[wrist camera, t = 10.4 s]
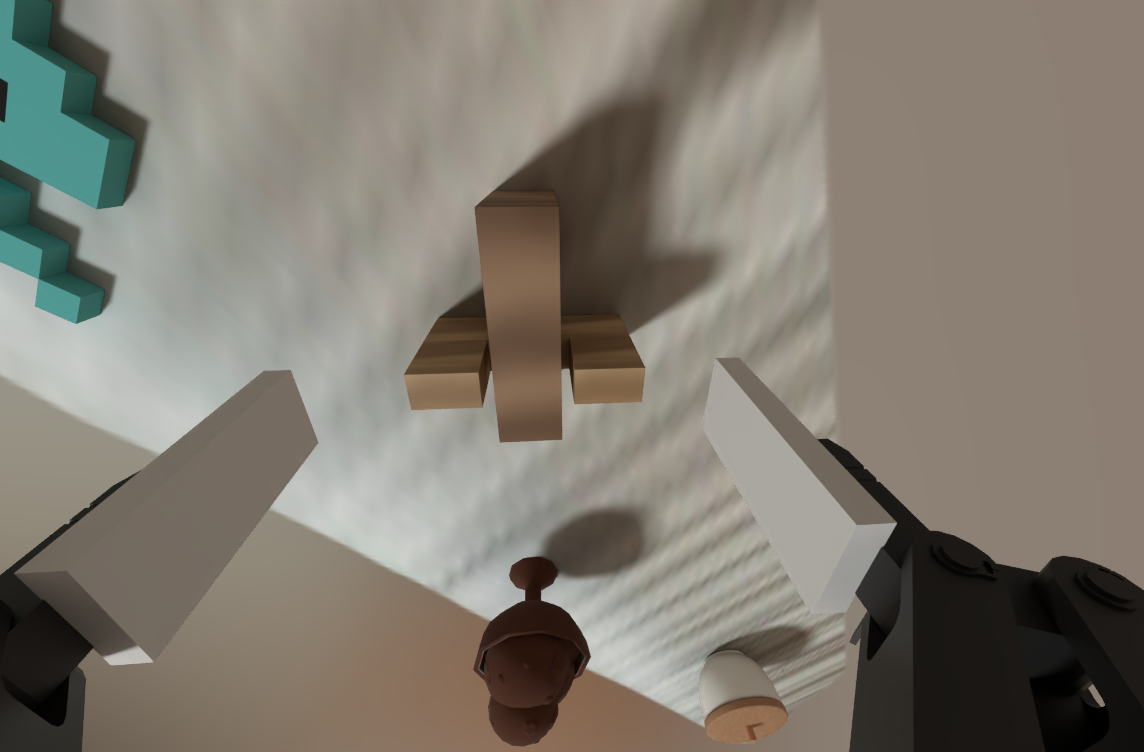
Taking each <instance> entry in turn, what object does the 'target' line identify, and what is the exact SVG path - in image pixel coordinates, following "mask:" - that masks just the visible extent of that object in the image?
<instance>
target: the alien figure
mask: <svg viewBox="0 0 1144 752" xmlns="http://www.w3.org/2000/svg"><path fill="white" fill-rule="evenodd" d="M52 7H53V3H51V2H50V1H48V0H0V160H2V161H4V162H6V163H8V164H10V165H11V166H13V167H15V168H17V169H19V170H21V171H23V172H25V173H27V174H29V175H31V176H33V177H35V178H37V179H39V180H41V181H43V182H45V183H47V184H49V185H50V186H52V187H54V188H56V189H58V190H60V191H62V192H64V193H66V194H68V195H70V196H72V197H74V198H76V199H78V200H80V201H82V202H84V203H86V204H88V205H90V206H91V207H93V208H95V209H102V208H110V207H117V206H123V201H124V196H125V191H126V186H127V181H128V176H129V172H130V167H131V162H132V157H133V152H134V147H135V142H136V140H134V139H132V138H131V137H129V136H127V135H126V134H124V133H122V132H120V131H119V130H117V129H115V128H113V127H112V126H110V125H108V124H106V123H105V122H103V121H101V120H99V119H98V118H96V117H94V116H93V115H91V112H92V106H93V100H94V94H95V87H96V81H97V76H95V75H94V74H92V73H90V72H89V71H87V70H85V69H84V68H82V67H81V66H79V65H77V64H76V63H74V62H72V61H71V60H69V59H67V58H66V57H64V56H62V55H61V54H59V53H57V52H56V51H54V50H52V49H51V48H49V47H48V42H49V34H50V25H51V16H52ZM30 202H31V192H29V191H27V190H25V189H23V188H21V187H19V186H17V185H15V184H13V183H11V182H9V181H7V180H5V179H3V178H1V177H0V262H2V263H4V264H6V265H8V266H11V267H13V268H15V269H17V270H20V271H22V272H24V273H26V274H29V275H31V276H33V277H35V278H38V279H39V280H38V287H37V295H36V302H35V307H38V308H40V309H42V310H45V311H47V312H49V313H52V314H54V315H56V316H59V317H61V318H63V319H66V320H68V321H71V322H73V323H75V324H77V323H80V322H82V321H85V320H88V319H90V318H93V317H96V316H98V315H100V312H101V307H102V303H103V298H104V293H105V290H104V289H102V288H100V287H98V286H96V285H93V284H91V283H89V282H87V281H85V280H83V279H80V278H78V277H76V276H74V275H72V274H70V273H67V272H66V269H67V263H68V256H69V250H70V244H69V243H67V242H65V241H63V240H61V239H59V238H56V237H54V236H52V235H50V234H48V233H46V232H44V231H42V230H40V229H38V228H36V227H34V226H32V225H29V224H28V219H29V211H30Z"/></svg>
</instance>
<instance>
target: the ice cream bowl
mask: <svg viewBox="0 0 1144 752" xmlns="http://www.w3.org/2000/svg"><path fill="white" fill-rule="evenodd" d="M557 571H558V570H557V569H556V567H555V566H554V564H553V563H552V561H549V560H546V559H543V558H540V557H534V558H524V559H522V560H520V561H519V562H517V563H515V564H514V565H512V567H511V571H510V574H509V576H510V580H511V581H512V582H513V584H514V585H515V586H516V587H517V588H520V589H523V590H525V601H522V602H519V603H517V604H515V605H514V606H512V607H510V608H509V609H507V610H505V611H504V612H502V613H501V614H499V615H498V616H497V617H496V618H495V619H493V620H492V621H491V622H490V623H489V625H488V627H487V628H486V630H485V632H484V634H483V637H482V640H481V644H480V647H479V650H478V654H477V658H476V662H475V665H474V671H475V672H476V673H477V674H478V675H479V676H480V677H481V678H482V679H483V680H485V682H486V684H487V686H488V689H489V691H490V694H491V697H490V702H489V706H488V709H489V719H490V722H491V724H492V727H493V729H494V731H495V732H496V734H497V735H498V736H499V737H500V738H501V739H502V740H503V741H505V742H507V743H509V744H510V745H513V746H527V745H530V744H533V743H538V742H539V741H540V739H541V738H542V737H544V736H545V735H546V734H547V732H548V731H549V730H550V729H551V728H552V727H553V725H554V723H555V720H556V718H557V716H558V703H560V702H561V701H562V700H563V698H565V696H566V695H567V693H568V691H569V689H570V687H571V685H572V682H573V679H575V678H577V677H579V676H581V675H582V673H583V671H584V669H585V667H586V665H587V663H588V661H589V659H590V658H591V656H590V652H589V649H588V645H587V642H586V640H585V638H584V636H583V634H582V632H581V630H580V629H579V627H578V626H577V624H576V623H575V622H574V620H573V619H572V617H571V616H570V614H569V613H567V612H566V611H565V610H563V609H562V608H561V607H559V606H556V605H554V604H551V603H547V602H544V601H541V590H543V589H545V588H546V587H548V586H550V585H552V584H553V582H554V580H555V577H556V574H557Z"/></svg>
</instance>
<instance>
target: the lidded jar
mask: <svg viewBox="0 0 1144 752" xmlns="http://www.w3.org/2000/svg"><path fill="white" fill-rule="evenodd" d="M698 693H699V701H700V706H701V711H702V715H703V718H704V721H705V728H706V732H707V734H708V736H709V737H710V738H711V739H713V740H715V741H718V742H723V743H743V742H749V743H756V742H757V739H760V738H763V737H766V736H768V735H770V734H772V733H774V732H776V731H777V730H779V729H780V728H781V727H782V726H783V725H784V724H785V723H786V721H787V718H788V714H787V711H786V709H785V707H784V705H783V704H782V702H781V700H780V698H779V695H778V693H777V691H776V689H775V687H774V685H773V684H772V682H771V680H770V679H769V677H768V676H767V674H766V673H765V671H764V670H763V669H762V668H761V667H760V666H759V665H758V664H757V663H756V662H755V661H753V660H752V659H750V658H749V657H747V656H745V655H744V654H743V653H742V652H741V651H738V650H732V649H730V650H722V651H718V652H716V653H713V654H712V655H710V656H709V657H707V658H706V659H705V661H704V667H703V669H702V671H701V673H700V676H699V682H698Z"/></svg>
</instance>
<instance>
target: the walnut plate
mask: <svg viewBox="0 0 1144 752" xmlns="http://www.w3.org/2000/svg"><path fill="white" fill-rule="evenodd" d="M475 216H476V225H477V234H478V244H479V253H480V262H481V272H482V281H483V290H484V299H485V309H486V318H487V327H488V337H489V346H490V355H491V365H492V374H493V383H494V392H495V402H496V411H497V420H498V430H499V439H500V442H520V441H542V440H562V387H561V310H560V233H559V205H558V202H557V200H556V197H555V194H554V191H493V192H491V193H490V194H489V195H488V196H487V197H486V198H485V199H483V200H482V201H481V202H480V203H479V204H478V205H477V206H475Z"/></svg>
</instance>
